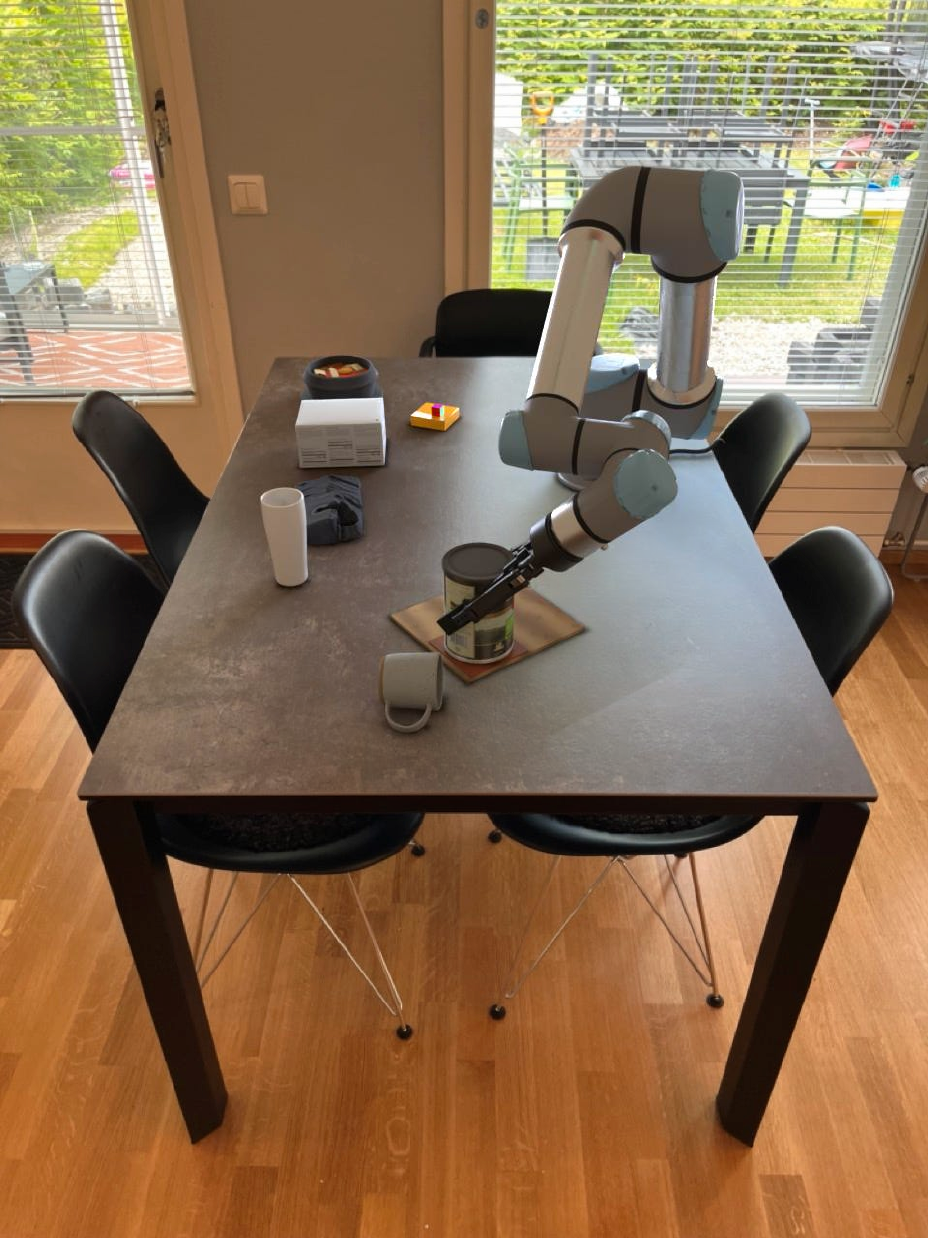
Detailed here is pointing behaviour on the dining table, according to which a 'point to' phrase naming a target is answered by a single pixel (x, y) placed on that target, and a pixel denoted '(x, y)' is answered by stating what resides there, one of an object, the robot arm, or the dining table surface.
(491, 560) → the coffee can
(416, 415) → the yellow tile with knob
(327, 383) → the casserole
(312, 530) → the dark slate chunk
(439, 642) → the placemat
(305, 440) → the supplement box
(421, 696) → the ceramic mug
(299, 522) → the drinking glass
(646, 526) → the dining table surface
